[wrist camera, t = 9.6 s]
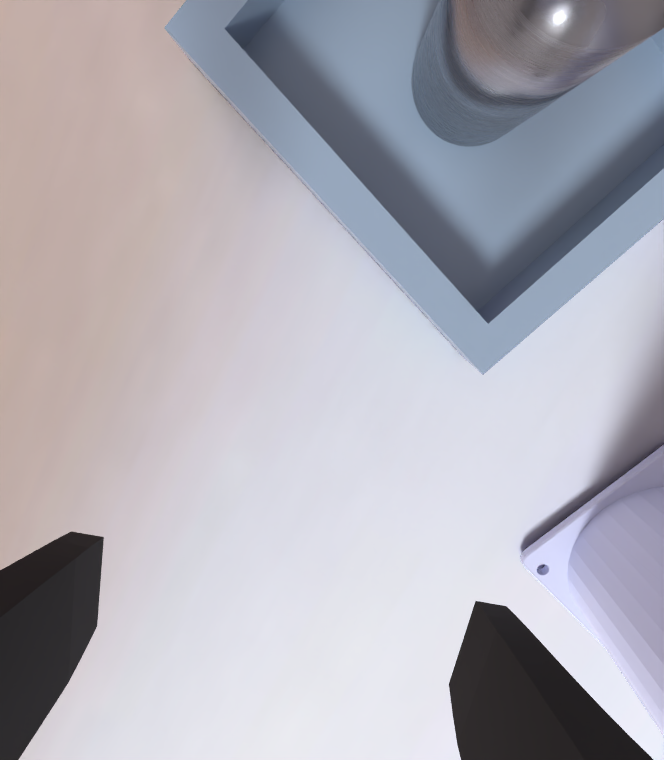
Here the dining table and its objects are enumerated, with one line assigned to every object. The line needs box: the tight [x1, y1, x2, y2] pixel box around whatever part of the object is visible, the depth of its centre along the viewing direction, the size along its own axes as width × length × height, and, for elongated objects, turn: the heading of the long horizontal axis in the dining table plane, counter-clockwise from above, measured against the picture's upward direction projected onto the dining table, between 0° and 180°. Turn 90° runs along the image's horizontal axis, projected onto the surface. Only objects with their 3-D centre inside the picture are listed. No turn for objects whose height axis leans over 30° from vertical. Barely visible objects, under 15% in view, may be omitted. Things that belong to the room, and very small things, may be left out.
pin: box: [411, 0, 664, 147], centre depth 12 cm, size 4×4×8 cm
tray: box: [165, 0, 664, 374], centre depth 15 cm, size 14×12×2 cm
